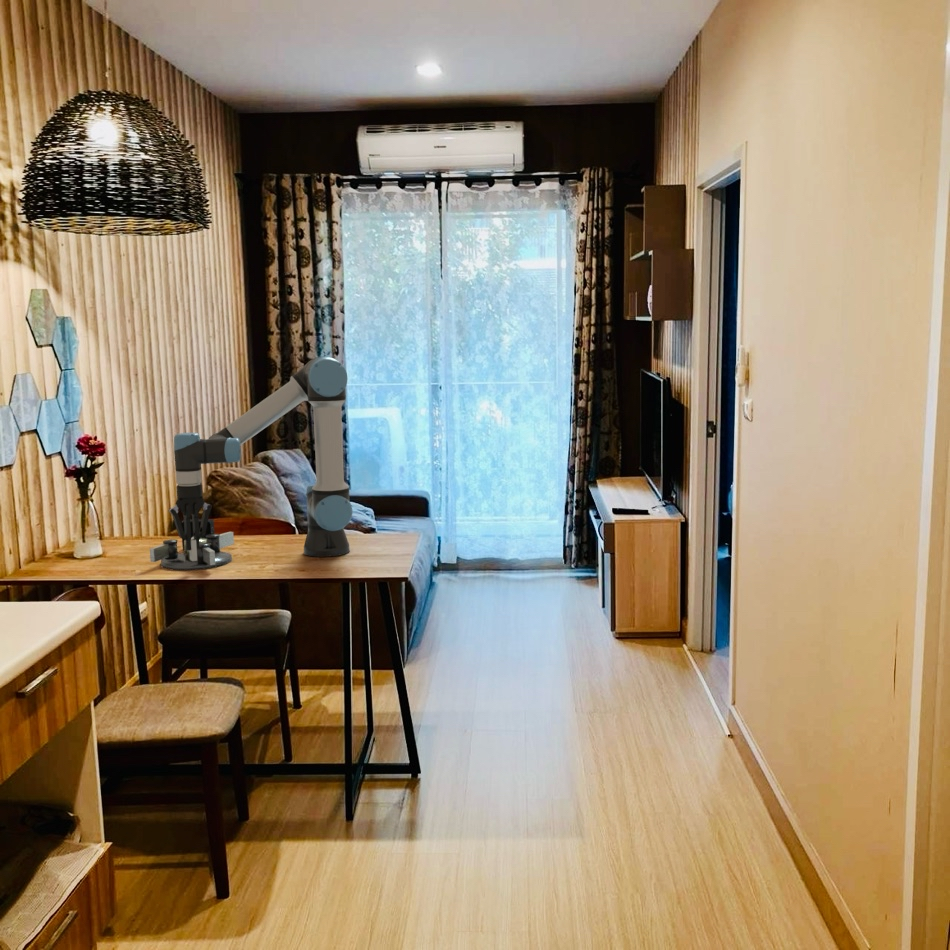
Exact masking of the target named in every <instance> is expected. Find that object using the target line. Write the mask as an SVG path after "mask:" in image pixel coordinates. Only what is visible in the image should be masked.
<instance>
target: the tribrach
mask: <svg viewBox="0 0 950 950" xmlns="http://www.w3.org/2000/svg"><path fill="white" fill-rule="evenodd" d="M192 538H194V537H192ZM192 538H191V539H192ZM199 543H207V539H206V538H200V539H199ZM184 548H185V550H184V552H178V558H177V559H172V560H166V559H162V560H160V566H161V567H162V568H163V569H166V570H170V569H173V570H172V571H198V570H207V569H213V568H217V567H218V568H219V567H222V566H224V565H227V564H229V563H231V562H232V560H233V559H232V554H231V553H230V552H227V551H222V550H220V552H219V553H215V565H209V564H208V563H205V564H199V563H197V561H191V560H190V553H189V550H187V549H186V540H184Z"/></svg>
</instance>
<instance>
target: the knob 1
mask: <svg viewBox="0 0 950 950" xmlns="http://www.w3.org/2000/svg"><path fill="white" fill-rule="evenodd" d="M178 554H179V552H178V539H175V538H174V539H164V540H162V544H160V545H157V546H152V547H150V548H149V557H150V558H149V560H150V562H152V563H156V562H159V561H161V560H162V559H166V560H172V559H177V558H178Z"/></svg>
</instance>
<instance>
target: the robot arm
mask: <svg viewBox="0 0 950 950" xmlns="http://www.w3.org/2000/svg"><path fill="white" fill-rule="evenodd" d="M289 378H290V379H289V381H288V382H287V383H285V384H284V385H283V386H281V387H280V388H278V389H277V390H276V391H274V392H272V393H271V394H270V395H268V396H267V397H266V398H264V399H263V400H261V401H260V402H259V403H257V404H255V406H253V407H252V408H250V409H249V410H247V411H246V412H245V413H243V414H242V415H241V416H239V417H238V418H236V419H235V420H234V421H232V422H231V423H230V424H227V425H226V426H225V427H224V428H222V429H221V430H219V431H218V432H216V433H213V434H212V435H210V436H209V437H208V439H207V438H204V439H203V438H201V436H200V434H199V433H197V432H182V433H181V432H180V433H177V434H175V435H174V436H173V455H174V468H175V469H174V470H175V483H176V484H177V485H176V489H175V490H176V502H175V505H174V506H173V507H169V508H168V512H169V513H170V515H171V516H172V518H173V522H174V525H175V528H176V529H175V530H176V531H177V534H178V536H179V537H178V538H180V539H181V540H182V539H185V540H186V549H187V550H189V553H190V560H191V561H197V549H199V548H200V544H199V539H200V538H201V537H202V536H205V533H206V528H207V522H208V519H209V517H210V512H211V511H212V508H213V505H212V504H210V503H206V502H205V501H206V500H205V499H204V495H203V494H204V493H203V485H202V482H203V477H202V465H203V464H204V465H206V464H226V463H227V464H232V463H238V462H240V461H241V459H242V451H241V450H242V447H241V446H242V445H243V444H244V443H246V442H248V441H249V440H250V439H252V438H253V437H254V436H256V435H257V434H259V433H260V432H262V431H263V430H264V429H266V428H267V427H269V426H270V425H272V424H273V423H274V422H276V421H278V420H279V419H280V418H281V417H283V416H284V415H286V414H287V413H289V412H290V411H292V410H293V409H294V408H296V406H299V405H300V404H301V403H303V402H304V401H305V402H308V403H309V404H311V406H312V407H313V409H312V410H313V426H314V427H313V428H314V451H315V453H314V454H315V476H316V477H315V478H316V482H315V484H309V485H307V486H306V491H305V492H306V493H305V497H306V507H307V508H306V509H307V510H306V513H307V515H306V516H307V533H306V536H305V540H304V545H303V554H304V555H306V556H309V557H314V558H315V557H316V558H317V557H318V558H322V557H323V558H325V557H328V558H329V557H335V556H336V557H337V556H338V557H339V556H342V555H345V554H347V553H349V552H350V548H351V547H350V543H349V541H348V537H347V535H346V532H345V527H346V526H348V525H349V523H350V522H351V519H352V517H353V506H352V503H351V502H350V501H351V500H350V486H349V485H348V484H347V482H346V481H345V475H344V474H345V473H344V451H343V449H344V448H343V445H344V444H343V424H342V423H343V422H342V418H343V417H342V406H343V404H344V403H345V402H346V400H347V399H346V397H347V395H346V394H347V393H346V387H347V384H348V373H347V370H346V368H345V367H344V365H343V364H342V363H341V361H339V360H337V359H336V358H333V357H328V356H327V357H326V356H318V357H314V358H312V359H311V360H309V361H308V362H307V363H306V364H305V365H304V366H303V367H302V368H300V369H299V370H298V371H297V372H296V373H294V374H292V375H291V376H290V377H289ZM201 510H203V511H202V515H201V519H202V520H201V525H200V531H199V519H200V518H199V517H200V516H199V515H200V514H199V513H200V511H201ZM179 511H180V512H181V513H182V515H183V521H184V530H185V535H184V531H183V528H182V525H181V523H182V521H181V520H180V516H179V514H178V513H179ZM191 516H192V517H191ZM190 519H192V522H193V537H194V538H192V539H191V526H190Z"/></svg>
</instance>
